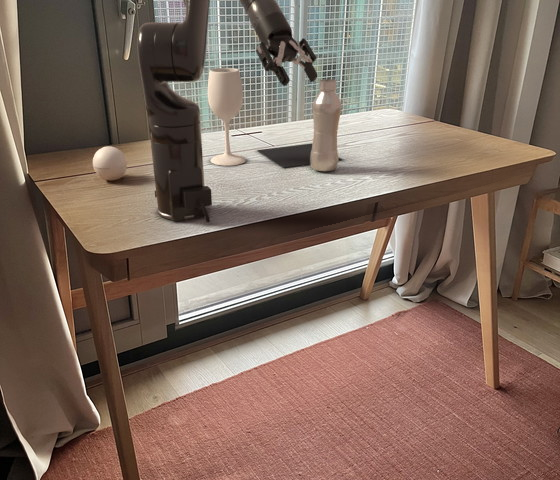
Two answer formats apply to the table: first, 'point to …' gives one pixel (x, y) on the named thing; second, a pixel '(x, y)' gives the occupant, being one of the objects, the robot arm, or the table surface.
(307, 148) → the felt mat
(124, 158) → the white sphere
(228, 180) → the table surface
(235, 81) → the wineglass
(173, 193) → the robot arm
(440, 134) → the table surface
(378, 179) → the table surface
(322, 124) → the plastic bottle
